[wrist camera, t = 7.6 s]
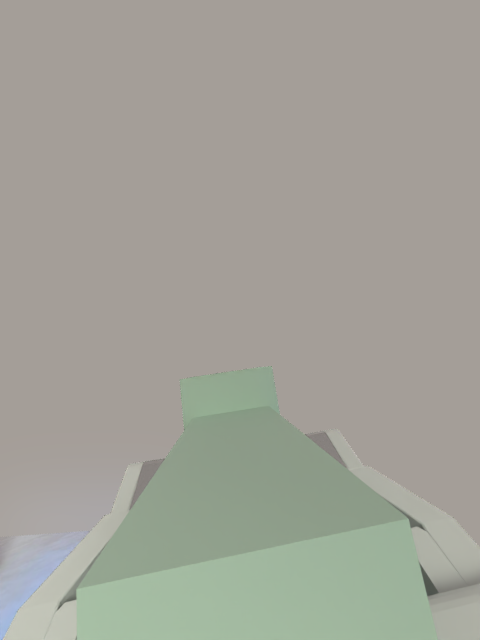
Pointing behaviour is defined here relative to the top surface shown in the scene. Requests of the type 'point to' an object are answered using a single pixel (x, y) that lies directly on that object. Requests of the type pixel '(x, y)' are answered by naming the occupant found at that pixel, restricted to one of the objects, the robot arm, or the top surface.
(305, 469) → the green handle
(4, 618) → the top surface
